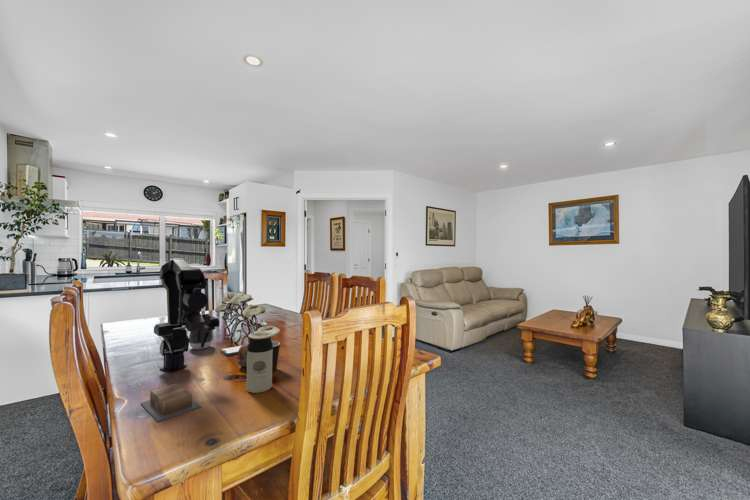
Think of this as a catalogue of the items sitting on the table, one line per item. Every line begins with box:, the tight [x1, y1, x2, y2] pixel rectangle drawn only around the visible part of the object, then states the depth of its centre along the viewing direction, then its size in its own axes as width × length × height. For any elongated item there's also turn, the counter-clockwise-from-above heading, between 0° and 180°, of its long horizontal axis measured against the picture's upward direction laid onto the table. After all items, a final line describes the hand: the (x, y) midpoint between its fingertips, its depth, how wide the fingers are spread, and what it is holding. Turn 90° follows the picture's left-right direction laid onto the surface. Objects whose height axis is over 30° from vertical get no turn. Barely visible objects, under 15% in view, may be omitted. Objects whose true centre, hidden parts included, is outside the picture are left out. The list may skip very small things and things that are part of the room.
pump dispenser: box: [188, 330, 214, 351], centre depth 147 cm, size 10×10×15 cm
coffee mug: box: [271, 340, 281, 373], centre depth 122 cm, size 12×9×10 cm
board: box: [149, 382, 193, 416], centre depth 93 cm, size 4×7×12 cm
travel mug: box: [246, 331, 273, 394], centre depth 105 cm, size 8×8×18 cm
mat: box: [140, 398, 202, 423], centre depth 92 cm, size 15×11×1 cm
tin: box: [236, 342, 249, 368], centre depth 129 cm, size 15×3×8 cm, turn 168°
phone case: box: [220, 344, 244, 357], centre depth 144 cm, size 9×2×16 cm
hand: (187, 350), depth 107 cm, fingers open, 9 cm apart
